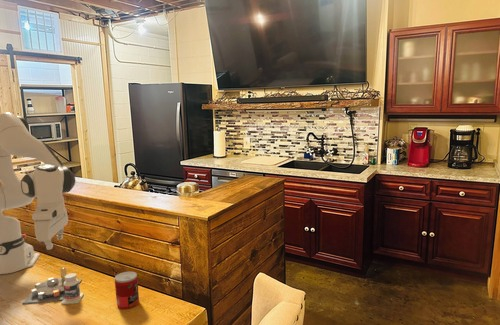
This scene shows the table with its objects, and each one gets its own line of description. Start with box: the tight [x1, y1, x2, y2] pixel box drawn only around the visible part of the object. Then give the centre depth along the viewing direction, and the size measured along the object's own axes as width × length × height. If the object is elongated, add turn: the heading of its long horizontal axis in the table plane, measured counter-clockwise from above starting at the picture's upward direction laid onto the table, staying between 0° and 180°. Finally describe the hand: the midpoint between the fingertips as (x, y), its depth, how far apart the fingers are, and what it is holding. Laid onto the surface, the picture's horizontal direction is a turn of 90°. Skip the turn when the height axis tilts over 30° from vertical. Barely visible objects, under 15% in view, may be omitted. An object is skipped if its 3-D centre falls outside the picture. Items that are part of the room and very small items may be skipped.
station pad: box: [60, 292, 84, 306], centre depth 134 cm, size 6×6×1 cm
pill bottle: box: [63, 272, 81, 301], centre depth 134 cm, size 5×5×9 cm
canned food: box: [114, 271, 140, 310], centre depth 129 cm, size 8×8×11 cm
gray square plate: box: [22, 279, 82, 305], centre depth 141 cm, size 16×17×1 cm
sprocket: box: [31, 266, 67, 299], centre depth 140 cm, size 15×15×9 cm
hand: (55, 243), depth 132 cm, fingers open, 8 cm apart
